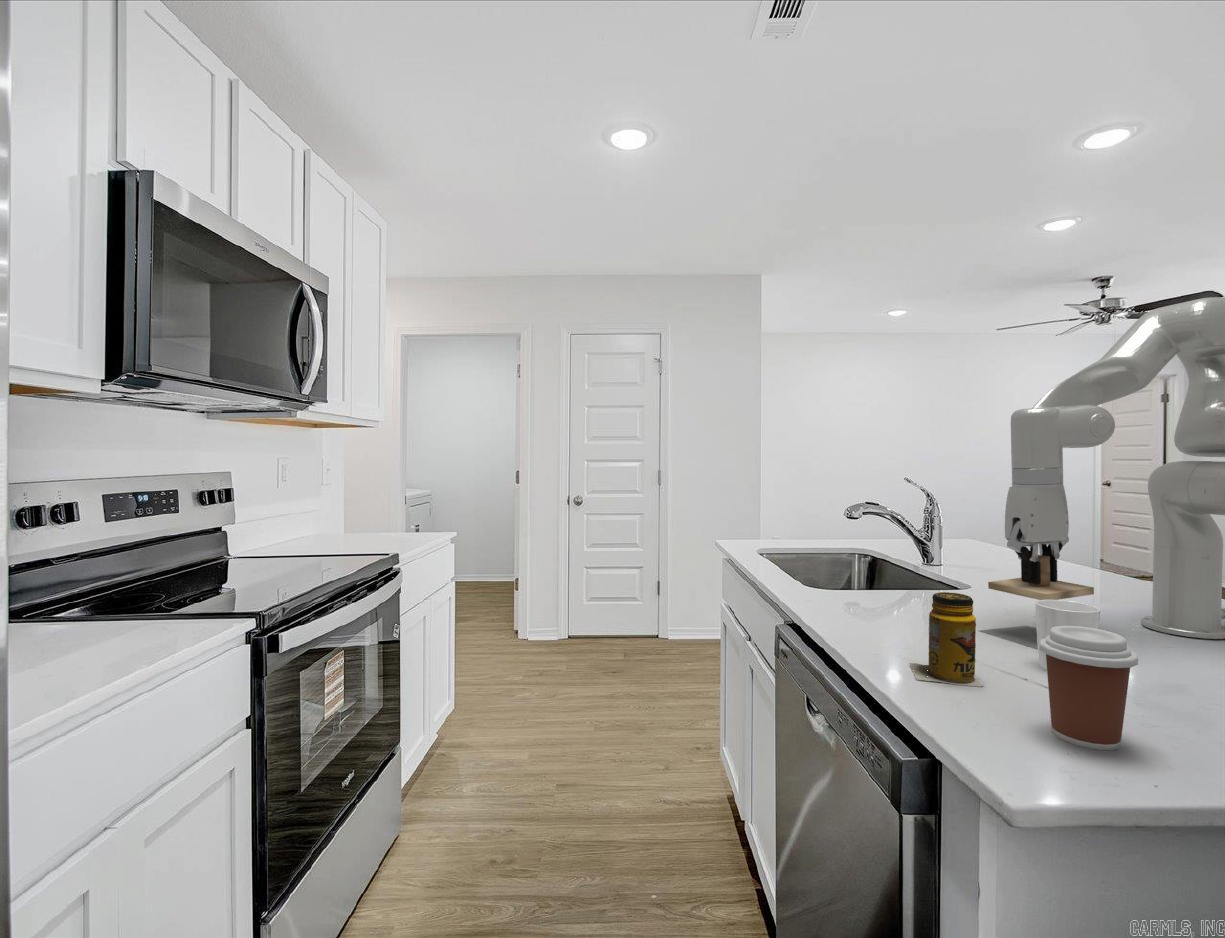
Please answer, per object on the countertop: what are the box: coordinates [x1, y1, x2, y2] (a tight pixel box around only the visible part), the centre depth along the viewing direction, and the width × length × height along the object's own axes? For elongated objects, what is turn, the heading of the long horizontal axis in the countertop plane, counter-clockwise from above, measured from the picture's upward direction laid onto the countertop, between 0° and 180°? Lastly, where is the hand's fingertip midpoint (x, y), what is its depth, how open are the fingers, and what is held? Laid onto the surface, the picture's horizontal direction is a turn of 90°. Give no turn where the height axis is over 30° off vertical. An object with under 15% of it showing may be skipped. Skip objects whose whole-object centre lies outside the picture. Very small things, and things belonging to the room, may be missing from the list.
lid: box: [987, 554, 1095, 601], centre depth 111 cm, size 11×11×6 cm
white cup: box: [1035, 599, 1101, 671], centre depth 94 cm, size 8×8×10 cm
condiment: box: [909, 591, 984, 688], centre depth 92 cm, size 7×8×12 cm
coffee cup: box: [1039, 626, 1139, 751], centre depth 72 cm, size 9×9×12 cm
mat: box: [978, 625, 1038, 650], centre depth 111 cm, size 12×12×1 cm
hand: (1039, 580), depth 111 cm, fingers closed on lid, 3 cm apart
